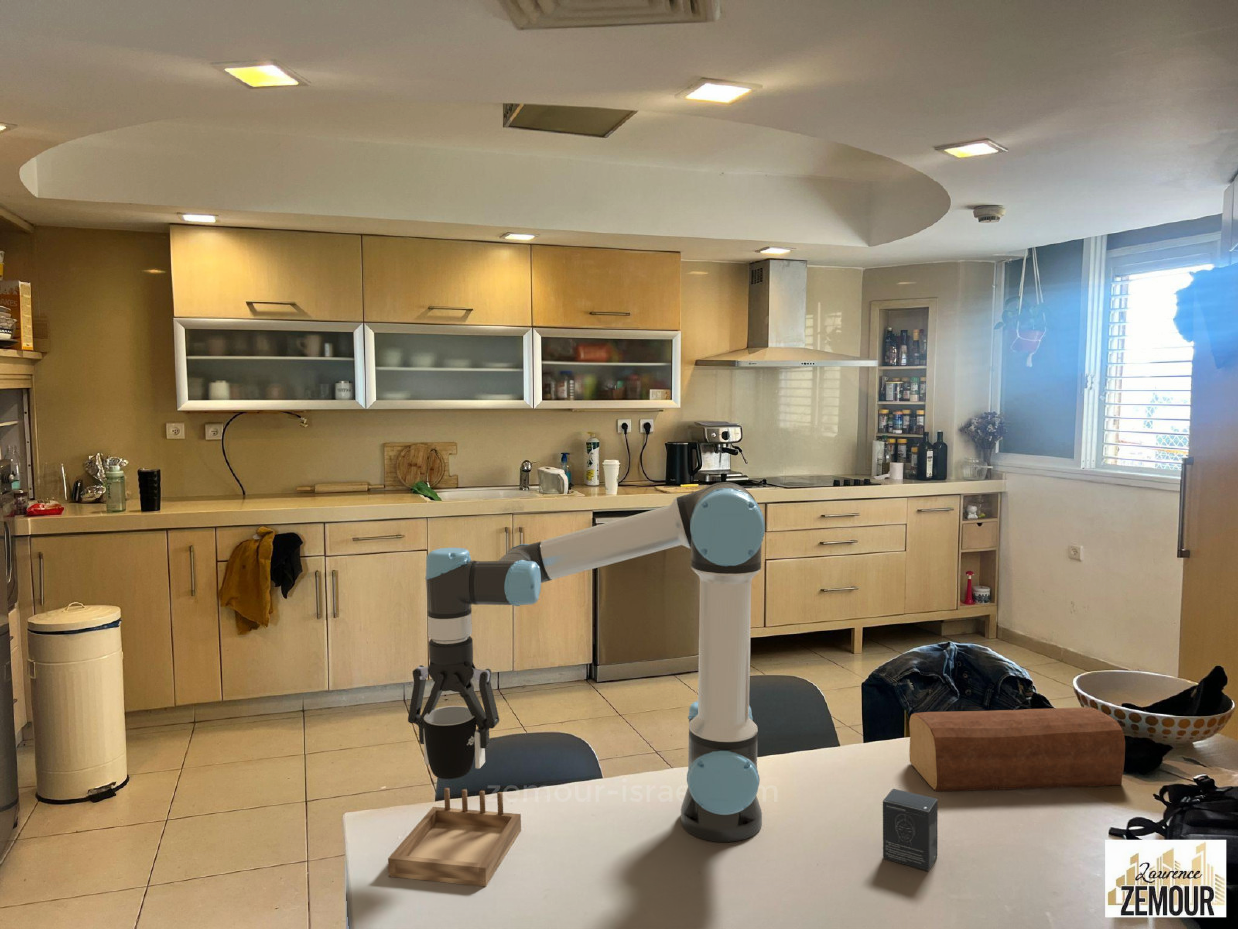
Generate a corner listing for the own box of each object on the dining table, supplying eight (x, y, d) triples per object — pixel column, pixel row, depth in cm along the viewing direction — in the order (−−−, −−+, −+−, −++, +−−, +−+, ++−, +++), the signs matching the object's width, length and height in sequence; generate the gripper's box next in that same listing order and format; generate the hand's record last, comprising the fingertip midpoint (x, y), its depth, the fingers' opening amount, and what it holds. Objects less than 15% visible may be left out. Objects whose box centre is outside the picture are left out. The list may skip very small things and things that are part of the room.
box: (937, 857, 148) (938, 798, 147) (928, 872, 144) (929, 811, 143) (892, 844, 153) (892, 787, 152) (881, 858, 148) (882, 799, 147)
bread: (1127, 789, 172) (1129, 723, 171) (935, 795, 171) (935, 730, 170) (1083, 756, 188) (1084, 696, 186) (906, 762, 186) (907, 702, 185)
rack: (521, 830, 160) (519, 793, 159) (486, 886, 142) (484, 844, 142) (433, 823, 164) (432, 786, 163) (388, 876, 146) (386, 835, 145)
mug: (474, 782, 146) (472, 724, 145) (420, 784, 146) (418, 725, 145) (482, 752, 158) (481, 699, 157) (433, 754, 157) (431, 700, 157)
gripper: (516, 634, 151) (520, 758, 153) (402, 629, 155) (407, 750, 157) (502, 646, 144) (506, 777, 146) (383, 641, 148) (388, 768, 150)
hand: (455, 763), depth 151 cm, fingers closed on mug, 9 cm apart
